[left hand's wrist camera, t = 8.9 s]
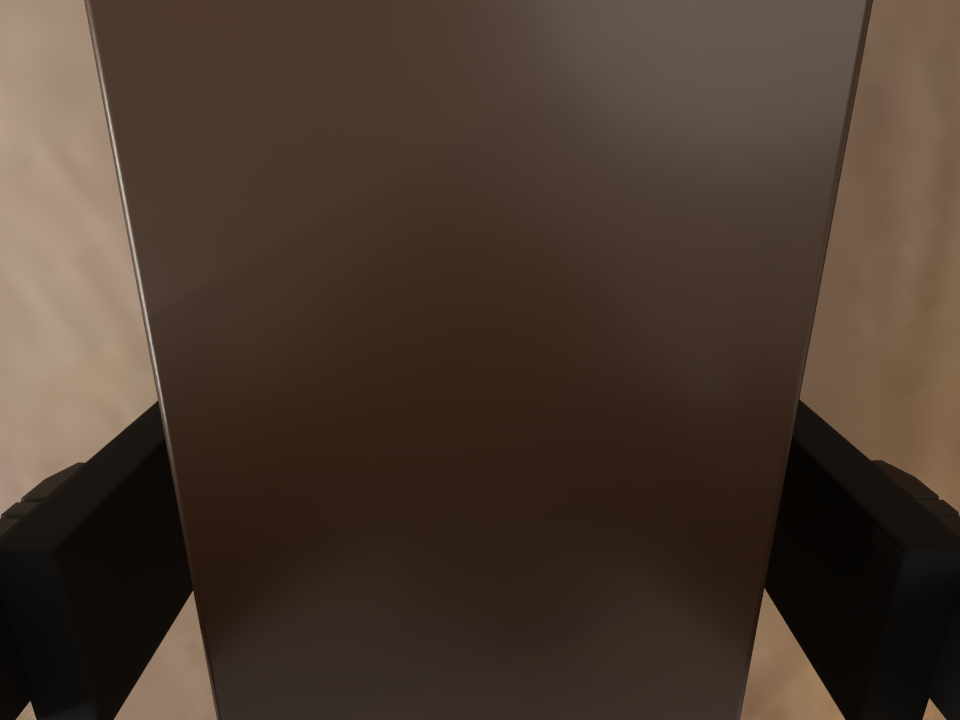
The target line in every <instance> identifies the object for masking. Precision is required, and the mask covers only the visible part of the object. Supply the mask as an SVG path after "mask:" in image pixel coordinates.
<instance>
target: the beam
mask: <svg viewBox="0 0 960 720" xmlns="http://www.w3.org/2000/svg"><path fill="white" fill-rule="evenodd" d="M84 1H85V6H86V12H87V17H88V23H89V28H90V33H91V39H92V44H93V50H94V55H95V60H96V66H97V71H98V77H99V82H100V88H101V93H102V98H103V104H104V109H105V115H106V120H107V125H108V131H109V136H110V142H111V147H112V152H113V158H114V163H115V169H116V174H117V180H118V185H119V190H120V196H121V201H122V207H123V212H124V217H125V223H126V228H127V234H128V239H129V244H130V250H131V255H132V261H133V266H134V271H135V277H136V282H137V288H138V293H139V299H140V304H141V309H142V315H143V320H144V326H145V331H146V336H147V342H148V347H149V353H150V358H151V363H152V369H153V374H154V380H155V385H156V391H157V396H158V401H159V407H160V412H161V418H162V423H163V428H164V434H165V439H166V445H167V450H168V455H169V461H170V466H171V472H172V477H173V483H174V488H175V493H176V499H177V504H178V510H179V515H180V520H181V526H182V531H183V537H184V542H185V547H186V553H187V558H188V564H189V569H190V575H191V580H192V585H193V591H194V596H195V602H196V607H197V612H198V618H199V623H200V629H201V634H202V639H203V645H204V650H205V656H206V661H207V667H208V672H209V677H210V683H211V688H212V694H213V699H214V704H215V710H216V715H217V720H740V716H741V710H742V705H743V699H744V694H745V689H746V683H747V678H748V672H749V667H750V662H751V656H752V651H753V645H754V640H755V635H756V629H757V624H758V618H759V613H760V608H761V602H762V597H763V591H764V586H765V581H766V575H767V570H768V564H769V559H770V554H771V548H772V543H773V537H774V532H775V527H776V521H777V516H778V510H779V505H780V500H781V494H782V489H783V483H784V478H785V473H786V467H787V462H788V456H789V451H790V446H791V440H792V435H793V429H794V424H795V419H796V413H797V408H798V402H799V397H800V392H801V386H802V381H803V375H804V370H805V365H806V359H807V354H808V348H809V343H810V338H811V332H812V327H813V321H814V316H815V311H816V305H817V300H818V294H819V289H820V283H821V278H822V273H823V267H824V262H825V256H826V251H827V246H828V240H829V235H830V229H831V224H832V219H833V213H834V208H835V202H836V197H837V192H838V186H839V181H840V175H841V170H842V165H843V159H844V154H845V148H846V143H847V138H848V132H849V127H850V121H851V116H852V111H853V105H854V100H855V94H856V89H857V84H858V78H859V73H860V67H861V62H862V57H863V51H864V46H865V40H866V35H867V30H868V24H869V19H870V13H871V8H872V3H873V0H84Z"/></svg>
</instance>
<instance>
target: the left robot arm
mask: <svg viewBox="0 0 960 720" xmlns="http://www.w3.org/2000/svg"><path fill="white" fill-rule="evenodd" d="M938 497H939V496H938V495H937V494H935V493H934V492H933V491H932V490H930V489H929V488H928V487H927V486H925V485H924V484H923V483H922V482H921V481H919V480H918V479H917V478H916V477H914V476H912V475H910V474H908V473H906V472H904V471H902V470H900V469H898V468H896V467H894V466H892V465H890V464H888V463H886V462H884V461H882V460H869V459H868V458H867V457H866V456H865V455H864V454H862V453H861V452H860V451H859V450H858V449H857V448H855V447H854V446H853V445H852V444H851V443H850V442H848V441H847V440H846V439H845V438H844V437H843V436H841V435H840V434H839V433H838V432H837V431H836V430H834V429H833V428H832V427H831V426H830V425H829V424H827V423H826V422H825V421H824V420H823V419H822V418H820V417H819V416H818V415H817V414H816V413H815V412H813V411H812V410H811V409H810V408H809V407H808V406H807V405H805V404H804V403H803V402H802V401H801V400H800V399H799V402H798V408H797V413H796V419H795V424H794V429H793V435H792V440H791V446H790V451H789V456H788V462H787V467H786V473H785V478H784V483H783V489H782V494H781V500H780V505H779V510H778V516H777V521H776V527H775V532H774V537H773V543H772V548H771V554H770V559H769V564H768V570H767V575H766V581H765V586H764V588H765V589H766V591H767V593H768V594H769V596H770V598H771V599H772V601H773V602H774V604H775V606H776V607H777V609H778V611H779V612H780V614H781V615H782V617H783V619H784V620H785V622H786V624H787V625H788V627H789V628H790V630H791V632H792V633H793V635H794V637H795V638H796V640H797V641H798V643H799V645H800V646H801V648H802V650H803V651H804V653H805V654H806V656H807V658H808V659H809V661H810V663H811V664H812V666H813V667H814V669H815V671H816V672H817V674H818V676H819V677H820V679H821V681H822V682H823V684H824V685H825V687H826V689H827V690H828V692H829V694H830V695H831V697H832V698H833V700H834V702H835V703H836V705H837V707H838V708H839V710H840V711H841V713H842V715H843V716H844V718H845V720H922V719H923V716H924V713H925V710H926V706H927V703H928V700H929V698H930V699H931V700H932V702H933V703H934V704H935V706H936V707H937V708H938V709H939V711H940V712H941V713H942V714H943V716H944V717H945V718H946V720H960V517H959V512H958V511H956V510H955V509H954V508H953V507H951V506H950V505H949V504H948V503H946V502H945V501H944V500H939V498H938ZM192 591H193V585H192V580H191V575H190V569H189V564H188V558H187V553H186V547H185V542H184V537H183V531H182V526H181V520H180V515H179V510H178V504H177V499H176V493H175V488H174V483H173V477H172V472H171V466H170V461H169V455H168V450H167V445H166V439H165V434H164V428H163V423H162V418H161V412H160V407H159V401H157V402H156V403H155V404H154V405H153V406H151V407H150V408H149V409H148V410H147V411H146V412H144V413H143V414H142V415H141V416H140V417H139V418H137V419H136V420H135V421H134V422H133V423H132V424H130V425H129V426H128V427H127V428H126V429H125V430H123V431H122V432H121V433H120V434H119V435H118V436H116V437H115V438H114V439H113V440H112V441H111V442H109V443H108V444H107V445H106V446H105V447H104V448H102V449H101V450H100V451H99V452H98V453H97V454H95V455H94V456H93V457H92V458H91V459H90V460H89V461H87V462H86V463H76V464H74V465H72V466H70V467H68V468H66V469H64V470H62V471H60V472H58V473H56V474H54V475H52V476H50V477H48V478H46V479H45V480H43V481H42V482H41V483H40V484H38V485H37V486H36V487H35V488H34V489H32V490H31V491H30V492H29V493H27V494H26V495H25V496H24V497H22V498H21V502H20V503H15V504H14V505H13V506H11V507H10V508H9V509H8V510H7V511H5V512H4V513H3V514H2V515H1V519H0V720H16V718H17V717H18V716H19V714H20V713H21V712H22V711H23V709H24V708H25V707H26V705H27V704H28V703H29V702H30V700H31V703H32V706H33V710H34V713H35V716H36V719H37V720H114V718H115V717H116V715H117V713H118V712H119V710H120V708H121V707H122V705H123V704H124V702H125V700H126V699H127V697H128V695H129V694H130V692H131V690H132V689H133V687H134V686H135V684H136V682H137V681H138V679H139V677H140V676H141V674H142V673H143V671H144V669H145V668H146V666H147V664H148V663H149V661H150V660H151V658H152V656H153V655H154V653H155V651H156V650H157V648H158V647H159V645H160V643H161V642H162V640H163V638H164V637H165V635H166V634H167V632H168V630H169V629H170V627H171V625H172V624H173V622H174V621H175V619H176V617H177V616H178V614H179V612H180V611H181V609H182V608H183V606H184V604H185V603H186V601H187V599H188V598H189V596H190V595H191V593H192Z"/></svg>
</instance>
